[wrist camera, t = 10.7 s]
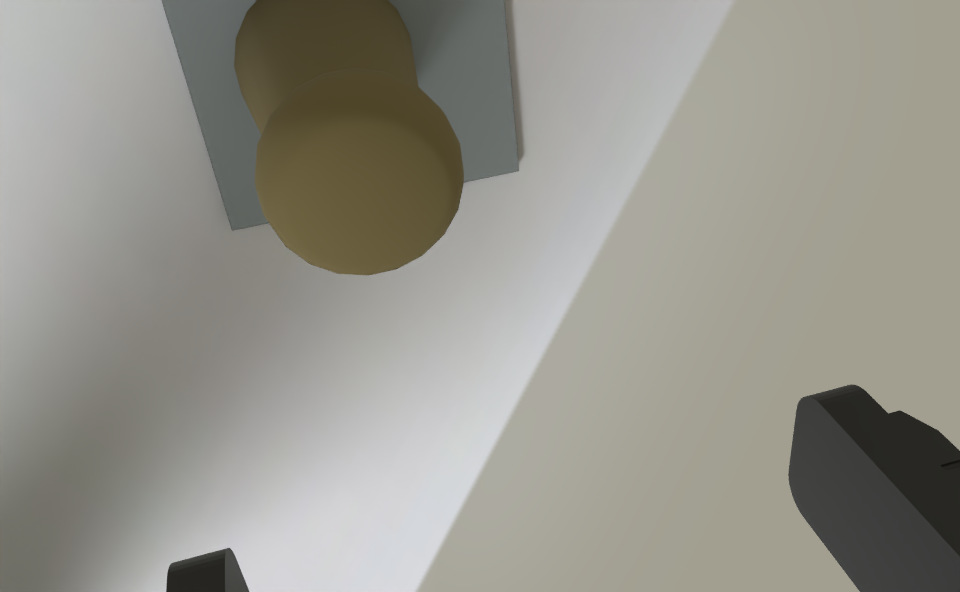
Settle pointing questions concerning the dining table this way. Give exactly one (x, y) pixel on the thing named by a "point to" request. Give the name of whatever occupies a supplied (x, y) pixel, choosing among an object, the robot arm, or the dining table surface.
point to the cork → (346, 134)
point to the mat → (439, 68)
